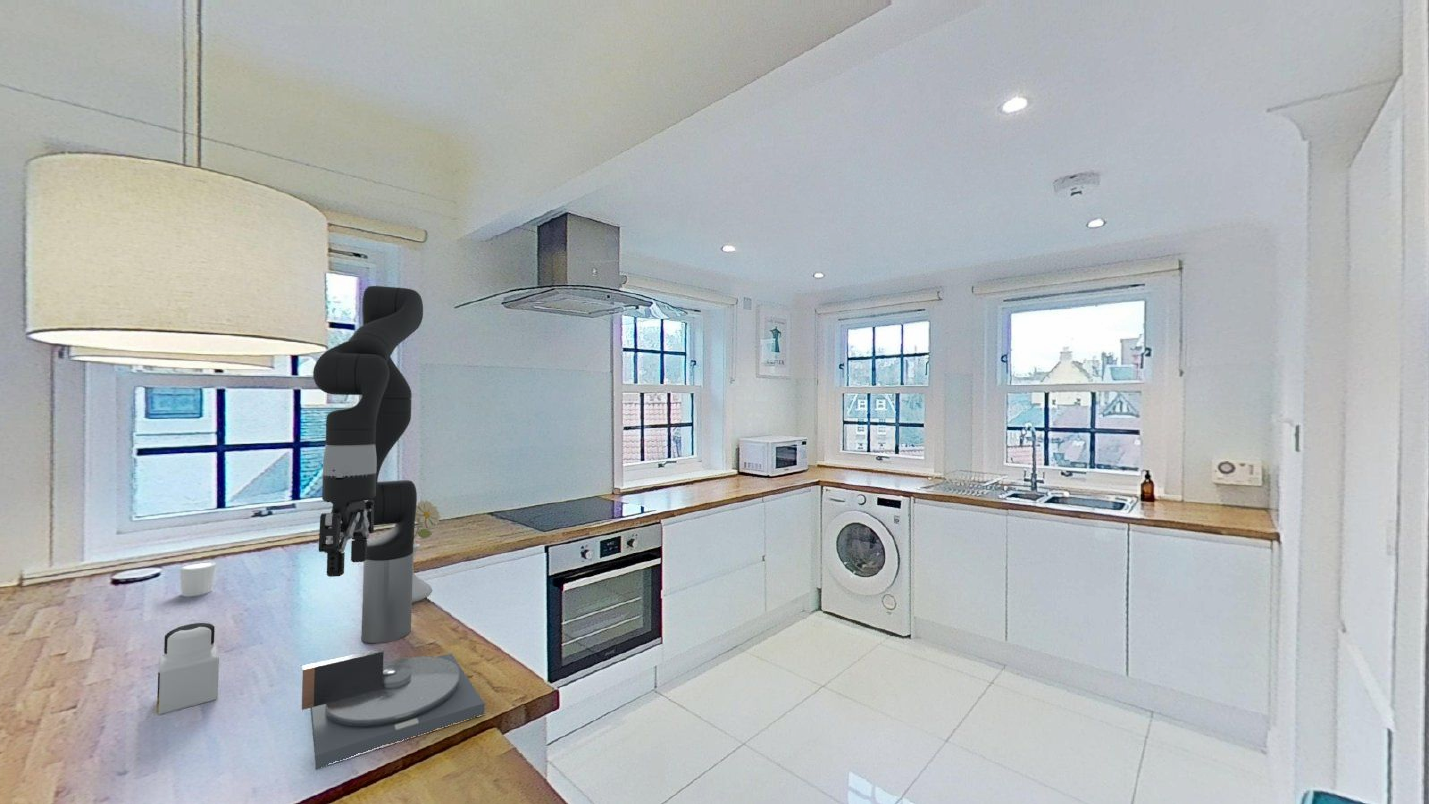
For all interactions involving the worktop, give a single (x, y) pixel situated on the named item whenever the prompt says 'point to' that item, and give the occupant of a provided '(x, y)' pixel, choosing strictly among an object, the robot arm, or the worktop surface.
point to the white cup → (197, 578)
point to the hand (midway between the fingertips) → (347, 568)
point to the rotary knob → (377, 687)
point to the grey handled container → (188, 668)
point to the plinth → (391, 724)
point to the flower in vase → (425, 519)
